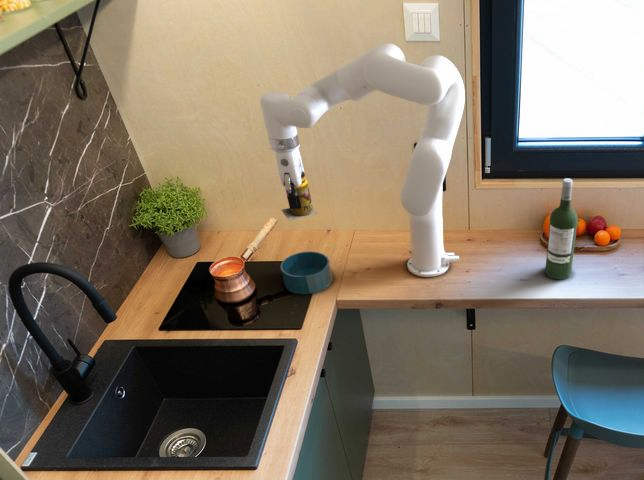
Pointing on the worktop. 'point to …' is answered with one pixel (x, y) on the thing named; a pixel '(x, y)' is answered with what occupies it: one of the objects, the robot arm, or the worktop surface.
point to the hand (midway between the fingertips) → (297, 202)
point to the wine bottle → (562, 236)
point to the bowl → (306, 272)
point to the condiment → (305, 202)
